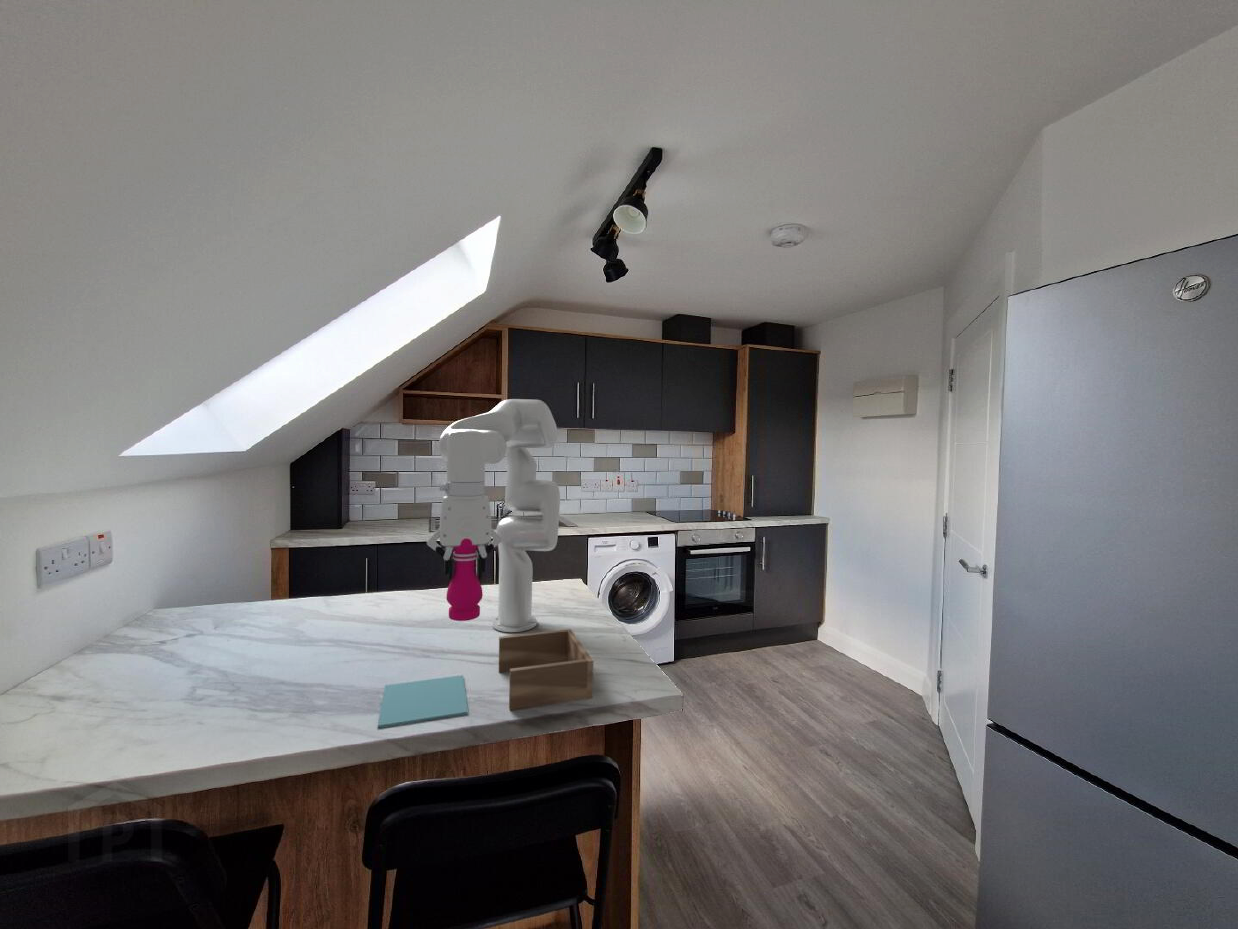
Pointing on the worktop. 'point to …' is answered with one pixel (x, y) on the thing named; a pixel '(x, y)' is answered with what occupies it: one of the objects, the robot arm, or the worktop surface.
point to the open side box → (545, 668)
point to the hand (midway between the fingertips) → (464, 575)
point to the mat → (422, 701)
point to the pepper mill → (464, 584)
